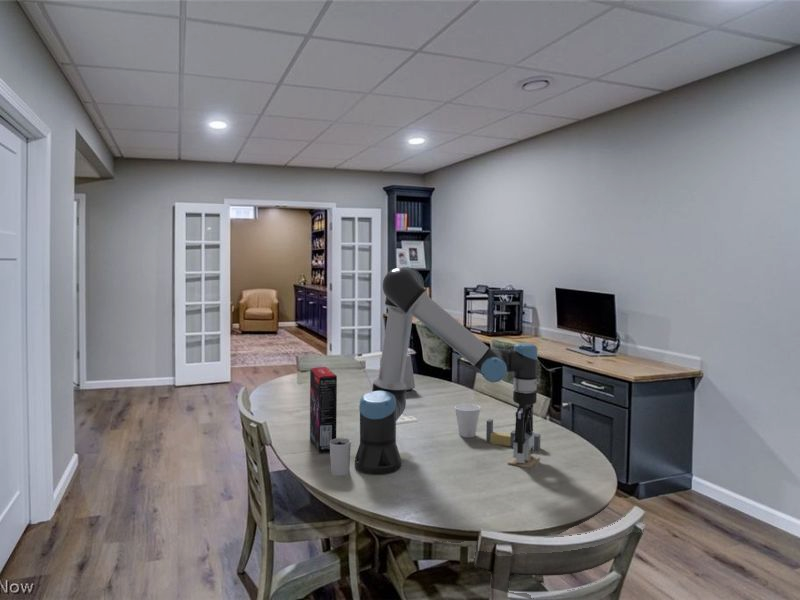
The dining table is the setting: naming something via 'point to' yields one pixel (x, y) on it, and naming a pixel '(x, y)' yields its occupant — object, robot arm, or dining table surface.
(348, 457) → the toilet paper roll
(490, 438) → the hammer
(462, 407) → the cup
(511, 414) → the dining table surface
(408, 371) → the electrical switch box
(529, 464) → the tan tabbed plate
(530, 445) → the grey block
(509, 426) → the dining table surface
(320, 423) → the graphics card box
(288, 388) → the dining table surface
